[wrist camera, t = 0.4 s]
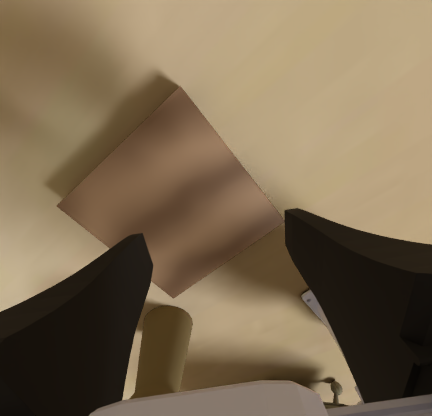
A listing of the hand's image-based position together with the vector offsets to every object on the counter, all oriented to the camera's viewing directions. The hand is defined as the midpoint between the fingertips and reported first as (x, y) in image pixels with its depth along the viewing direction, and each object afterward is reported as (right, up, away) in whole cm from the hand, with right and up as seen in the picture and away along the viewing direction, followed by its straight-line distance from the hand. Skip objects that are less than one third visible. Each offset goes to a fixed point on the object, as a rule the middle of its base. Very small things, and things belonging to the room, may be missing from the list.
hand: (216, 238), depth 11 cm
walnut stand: (-4, +2, +10) cm, 11 cm away
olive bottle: (-6, -13, +17) cm, 22 cm away
